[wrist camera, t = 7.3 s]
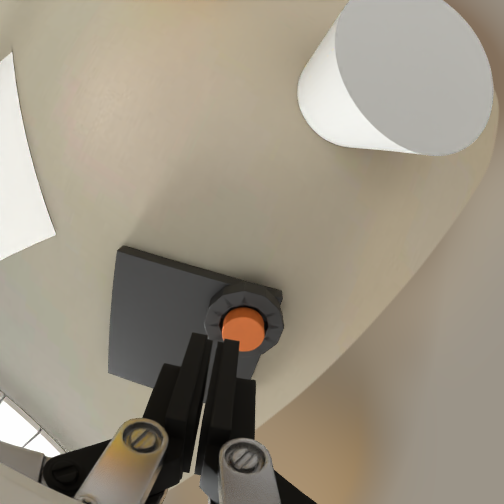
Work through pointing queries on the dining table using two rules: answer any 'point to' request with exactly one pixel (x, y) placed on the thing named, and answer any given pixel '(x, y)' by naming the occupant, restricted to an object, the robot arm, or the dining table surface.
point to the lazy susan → (24, 430)
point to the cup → (398, 79)
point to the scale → (178, 315)
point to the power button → (244, 328)
